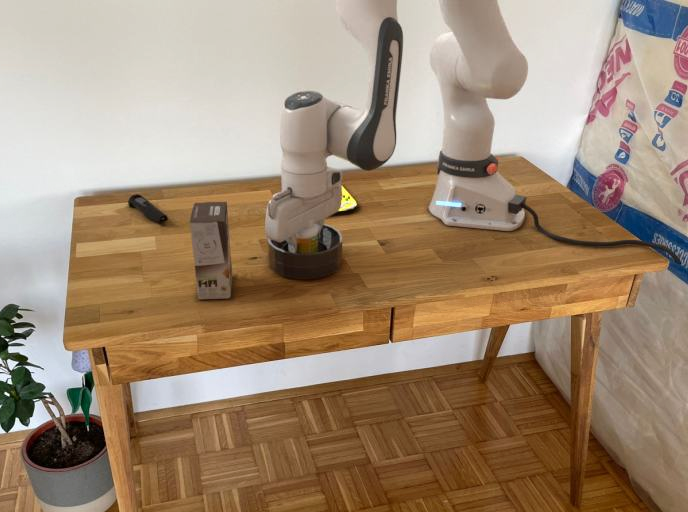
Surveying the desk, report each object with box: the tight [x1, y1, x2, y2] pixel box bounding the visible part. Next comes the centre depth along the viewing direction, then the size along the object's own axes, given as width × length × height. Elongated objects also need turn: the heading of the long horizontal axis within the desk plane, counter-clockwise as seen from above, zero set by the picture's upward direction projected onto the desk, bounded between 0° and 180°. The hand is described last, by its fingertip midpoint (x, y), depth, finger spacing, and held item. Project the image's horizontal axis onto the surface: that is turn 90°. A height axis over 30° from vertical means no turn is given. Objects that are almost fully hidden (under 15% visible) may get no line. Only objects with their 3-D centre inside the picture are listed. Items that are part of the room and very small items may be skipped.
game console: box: [330, 185, 358, 217], centre depth 173 cm, size 18×11×2 cm, turn 19°
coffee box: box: [189, 201, 233, 300], centre depth 134 cm, size 9×6×16 cm
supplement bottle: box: [295, 219, 318, 254], centre depth 144 cm, size 5×5×10 cm
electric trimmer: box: [127, 193, 169, 224], centre depth 165 cm, size 4×16×3 cm, turn 39°
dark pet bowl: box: [266, 223, 344, 280], centre depth 145 cm, size 15×15×6 cm
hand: (304, 245), depth 145 cm, fingers closed on supplement bottle, 5 cm apart
